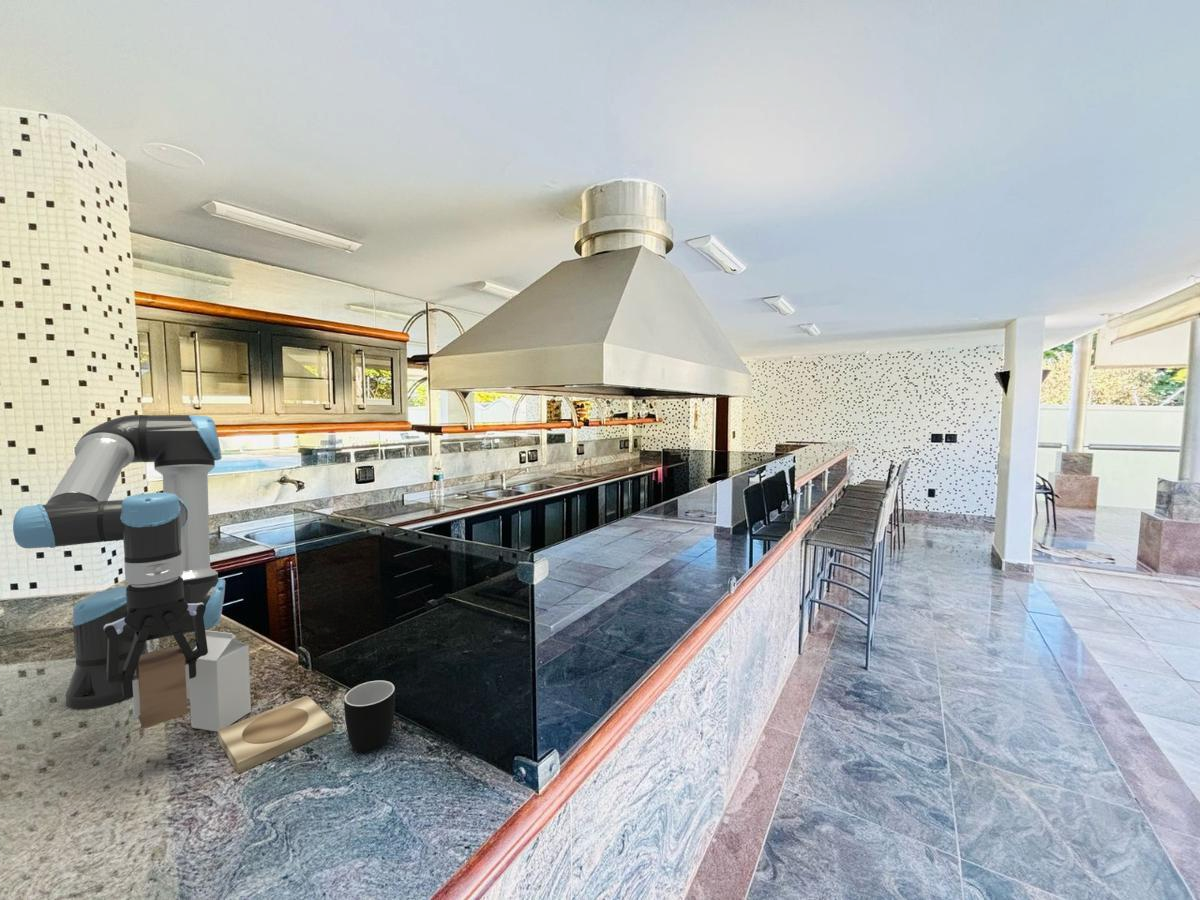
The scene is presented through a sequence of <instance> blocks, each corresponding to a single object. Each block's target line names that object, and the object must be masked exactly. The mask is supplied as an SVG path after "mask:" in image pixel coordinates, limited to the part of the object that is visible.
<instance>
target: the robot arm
mask: <svg viewBox="0 0 1200 900" xmlns="http://www.w3.org/2000/svg"><path fill="white" fill-rule="evenodd" d="M74 455H75V456H74V457H75V458H74V460H73V461H72V463H71V464H70V466H69V467H68V469H67V470H66V472H65V474H64V476H63V477H62V479H61V480H60V481H59V483H58V485H57V487H56V488H55V490H54V491H53V493H52V494H51V496H50V498H49V500H47V502H46V504H42V503H39V504H34V505H26V506H24V507H21V508H19V509H18V510H17V512H15V514H14V517H13V523H12V524H13V525H12V531H13V532H12V533H13V537H14V540H15V542H16V544H17V545H18V546H20V547H21V548H22V549H44V548H50V549H53V548H54V549H55V548H57V547H66V546H76V545H84V544H87V545H88V544H93V543H94V544H95V543H96V544H97V543H103V542H104V543H105V542H116V541H123V552H124V553H123V554H124V558H123V559H124V561H123V562H124V576H125V577H124V578H125V579H124V581H125V584H126V585H122V586H116V587H114V588H109V589H106V590H102V591H99V592H97V593H94V594H92V595H89V596H87V597H84V598H83V599H81V600H79V601H78V602H77V603H76V604H75V606H74V607H73V610H72V622H71V626H72V627H73V628H72V629H73V642H74V643H73V644H74V655H75V656H74V657H75V658H74V659H75V668H74V671H73V673H72V677H71V679H70V681H69V684H68V688H67V690H66V691H65V704H66V706H67V707H68V708H71V709H79V710H80V709H81V710H82V709H92V708H94V709H95V708H100V707H104V706H107V705H112V704H116V703H118V702H121V701H122V702H123V701H125V700H128V699H131V705H132V706H131V707H132V713H133V716H134V717H135V718H136V717H138V716H139V715H141V712H140V696H139V679H138V677H137V675H136V674H135V670H136V667H137V664H138V661H139V658H140V655H143V654H147V653H150V652H149V651H148V643H147V642H148V641H152V640H157V639H163V638H168V637H172V636H173V637H174V639H175V641H176V643H177V645H178V646H179V648H180V649H181V651H182V652H183V654H184V656H185V674H186V693H187V700H188V699H189V700H190V684H189V679H191V678H194V677H195V676H196V661H197V659H198V658H199V657H201V656H205V655H206V654H207V653H208V647H207V640H206V633H205V630H208V629H212V628H214V627H216V626H217V625H218V624H219V623H220V622H221V617H222V614H223V613H222V612H223V607H224V606H223V605H224V599H225V591H226V580H225V579H222V578H219V572H218V571H216V570H215V569H213V568H211V552H210V549H211V548H210V547H211V546H210V514H209V513H210V512H209V484H208V482H209V481H208V474H209V473H210V472H211V471H212V470H213V469H215V468H216V466H215V463H216V462H218V461H220V460H221V459H222V458H223V457H222V452H221V445H220V441H219V435H218V431H217V427H216V423H215V420H213V418H212V417H210V416H208V415H207V416H206V415H196V414H195V415H194V414H152V415H149V414H130V415H124V416H119V417H116V418H113V419H110V420H107V421H104V422H102V423H100V424H98V425H96V426H94V427H93V428H91V429H89V430H88V431H86V432H85V433H84V434H83V435H82V436H81V437H80V439H79V440H78V442H77V443H76V445H75V447H74ZM132 463H133V464H135V463H153V465H154V466H153V467H154V468H153V469H154V470H155V471H157V472H158V473H159V474H160V475H161V476H162V491H163V492H150V493H141V494H140V493H139V494H135V495H129V496H127V497H124V499H118V500H115V499H113V500H109V498H110V496H111V495H112V494H111V493H112V492H113V489H114V487H115V485H116V483H117V481H118V479H119V476H120V474H121V472H122V470H123V468H126V467H127V466H128V465H130V464H132ZM127 584H128V585H127ZM188 633H194V639H195V645H196V646H197V649H195V650H194V649H192V648H191V646H190V644H189V642H188V640H187V639H186V637H185V634H188ZM196 646H195V647H196ZM193 650H194V651H193Z"/></svg>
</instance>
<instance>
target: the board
mask: <svg viewBox="0 0 1200 900" xmlns="http://www.w3.org/2000/svg"><path fill="white" fill-rule="evenodd" d="M334 726H335V725H334V719H332V717H330V716H329V714H327V713H326V712H325V711H324V710H323V709H322V708H321V707H320V706H319V705H318V704H317V703H316V702H315V701H314V700H313V699H312V698H311V697H310V696H309V695H305V696H302V697H300V698H297V699H294V700H292V701H289V702H286V703H284V704H281V705H278V706H276V707H274V708H271V709H269V710H266V711H263V712H261V713H258V714H256V715H254V716H253V715H252V716H251V717H248V718H245V719H243V720H240V721H239V722H236V723H235V722H234V723H232V724H231V725H229V726H228V727H225V728H222V729H220V730H217V731H218V732H217V741H218V743H219V745H220V746H221V748H222V750H223V751H224V753H225V754H226V756H227V758H228V760H229V761H230V763H231V765H232V766H233V768H234V770H235V771H236V773H237V774H238V775H239V774H240V773H243V772H246V771H248V770H249V769H252V768H254V767H257V766H258V765H261V764H263V763H265V762H267V761H269V760H271V759H274V758H276V757H278V756H281V755H282V754H283V755H284V754H285V753H288V752H290V751H291V750H293V749H296V748H297V747H300V746H302V745H305V744H306V743H309V742H310V741H312V740H315V739H317V738H319V737H322V736H323V735H326V734H328V733H330V732H333V731H334V728H335V727H334Z"/></svg>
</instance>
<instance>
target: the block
mask: <svg viewBox="0 0 1200 900" xmlns="http://www.w3.org/2000/svg"><path fill="white" fill-rule="evenodd" d="M185 660H186V658H185V656H184V654H183V652H182V650H181V649H180V647H179V645H178V644H177V645H174V646H169V647H166V648H162V649H159V650H155V651H151V652H149V653H147V654H143V655H140V658H139V661H138V664H137V667H136V670H135V674H136V675H137V677H138V679H139V696H140V712H141V715H139V716H137V718H138V721H139V723H140V726H141V729H142V730H145V729H146V730H147V729H148V728H151V727H154V726H157V725H159V724H162V723H165V722H168V721H171V720H173V719H176V718H178V717H181V716H184V715H187V714H188V699H187V693H186V674H185Z"/></svg>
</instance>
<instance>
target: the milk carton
mask: <svg viewBox="0 0 1200 900" xmlns="http://www.w3.org/2000/svg"><path fill="white" fill-rule="evenodd" d="M205 633H206V640H207V647H208V653H207V654H206V655H205V656H201V657H199V658H198V659H197V661H196V676H195V677H194V678H191V679H189V684H190V698H189V705H190V707H189V708H190V724H191V725H190V726H191V728H193V729H198V730H206V731H210V732H215V733H216V732H217V733H218V731H217V730H220V729H222V728H225V727H228V726H230V725H233V724H235V722H236V721H239V720H240V719H242V718H243V717H244V716H246V715H248V714H249V713H251V711H252V706H251V705H252V704H251V701H252V700H251V681H250V680H251V678H250V677H251V676H250V650H249V644H248V643H245V642H242V641H241V640H238V639H235V638H236V635H235V634H233V633H232V632H224V631H215V630H208V629H205ZM195 649H197V646H195V647H194V649H192V651H194V650H195Z"/></svg>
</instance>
